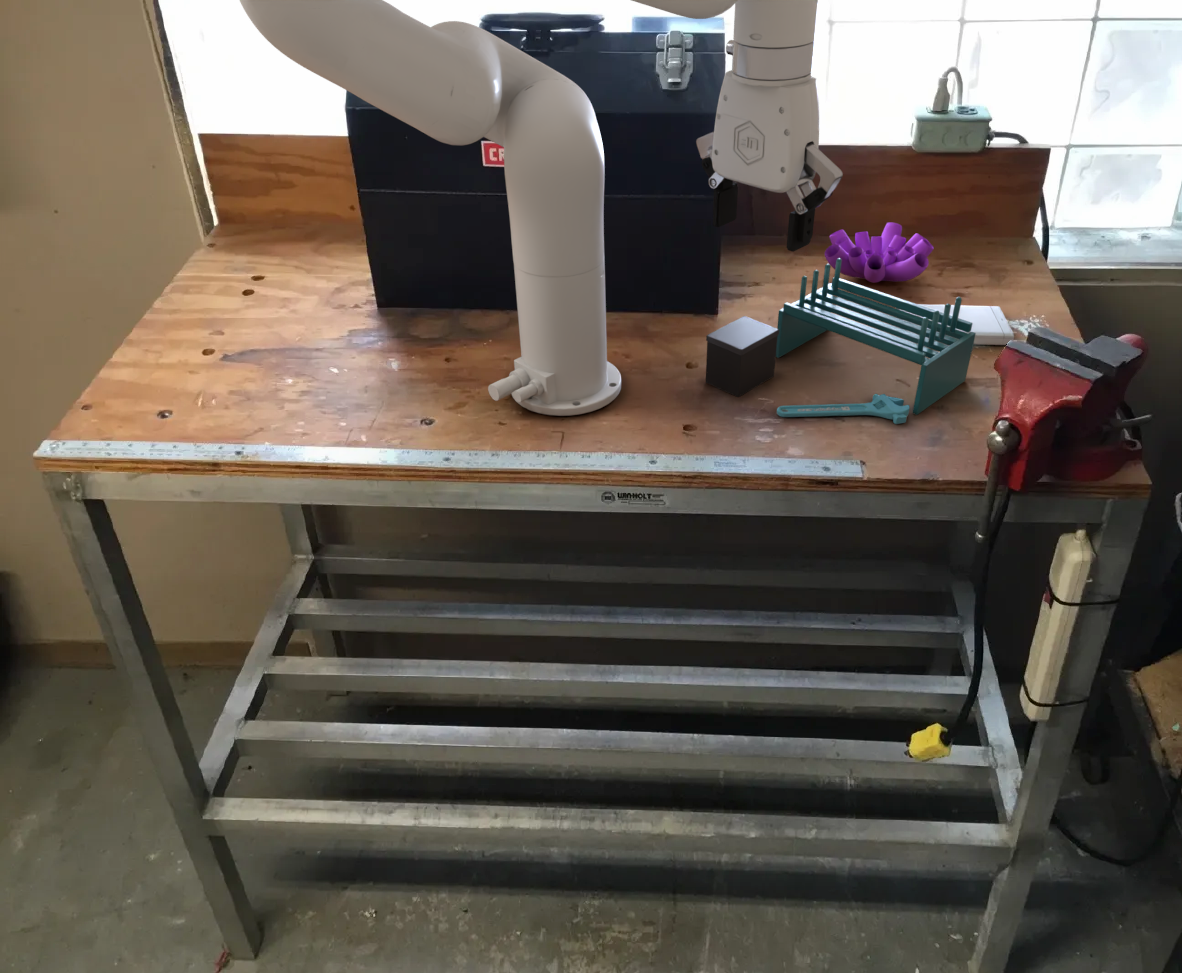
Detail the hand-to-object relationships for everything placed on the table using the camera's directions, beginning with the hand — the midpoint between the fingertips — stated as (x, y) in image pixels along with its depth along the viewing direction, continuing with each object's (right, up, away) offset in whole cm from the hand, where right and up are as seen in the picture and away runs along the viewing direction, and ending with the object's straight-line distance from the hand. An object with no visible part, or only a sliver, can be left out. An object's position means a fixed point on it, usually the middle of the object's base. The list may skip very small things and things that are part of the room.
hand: (760, 234), depth 103 cm
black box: (-1, -14, +10) cm, 17 cm away
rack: (+14, -13, +11) cm, 22 cm away
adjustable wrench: (+9, -18, +3) cm, 21 cm away
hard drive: (+26, -7, +18) cm, 33 cm away
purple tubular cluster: (+20, +1, +30) cm, 36 cm away
